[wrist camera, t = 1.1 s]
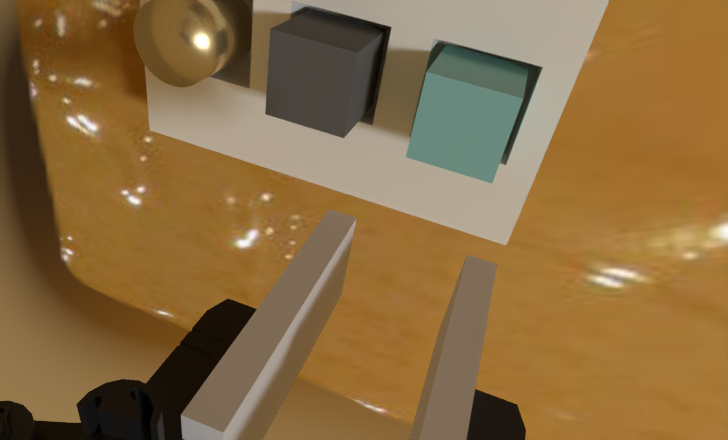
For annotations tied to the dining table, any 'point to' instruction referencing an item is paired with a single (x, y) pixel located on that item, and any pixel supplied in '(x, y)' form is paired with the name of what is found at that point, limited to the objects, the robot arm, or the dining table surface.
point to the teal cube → (467, 112)
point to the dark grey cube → (323, 71)
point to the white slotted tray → (396, 104)
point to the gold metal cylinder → (191, 37)
